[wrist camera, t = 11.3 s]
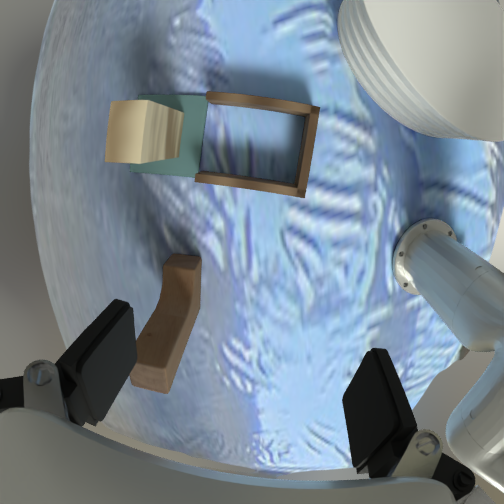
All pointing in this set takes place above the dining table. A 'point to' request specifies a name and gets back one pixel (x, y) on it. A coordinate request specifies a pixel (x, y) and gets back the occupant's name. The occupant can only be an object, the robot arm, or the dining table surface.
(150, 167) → the mat
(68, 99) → the dining table surface
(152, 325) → the wooden block
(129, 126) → the birch block
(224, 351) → the dining table surface
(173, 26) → the dining table surface
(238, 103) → the crate
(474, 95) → the plate stack
